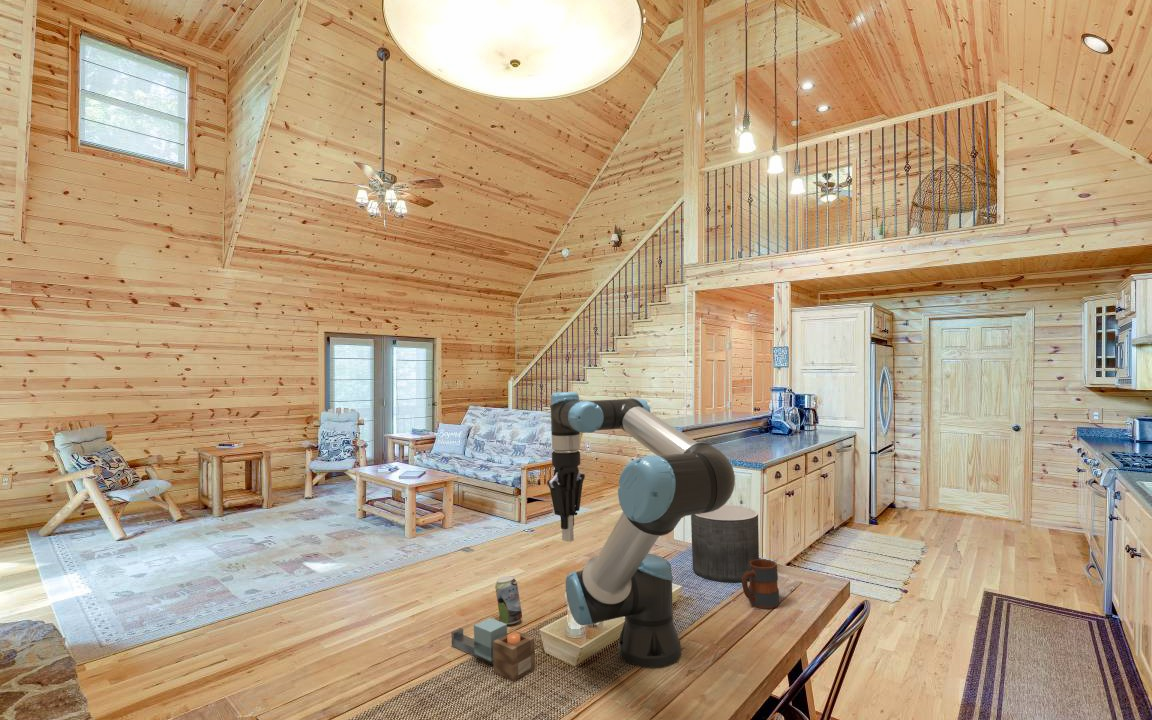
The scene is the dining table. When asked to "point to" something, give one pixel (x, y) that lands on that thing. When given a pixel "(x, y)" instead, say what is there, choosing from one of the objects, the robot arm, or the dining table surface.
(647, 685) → the dining table surface
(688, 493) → the robot arm
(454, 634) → the rail
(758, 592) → the mug
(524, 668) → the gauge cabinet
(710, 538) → the planter
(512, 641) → the orange rounded piece
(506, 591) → the beverage can
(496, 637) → the carriage
